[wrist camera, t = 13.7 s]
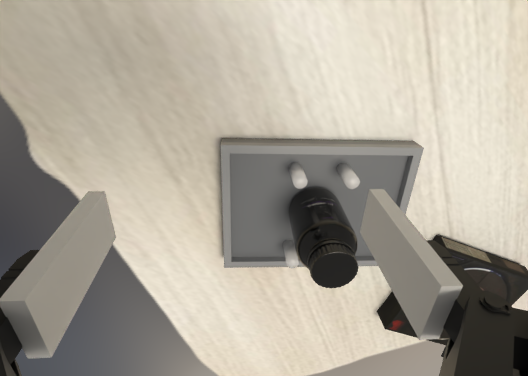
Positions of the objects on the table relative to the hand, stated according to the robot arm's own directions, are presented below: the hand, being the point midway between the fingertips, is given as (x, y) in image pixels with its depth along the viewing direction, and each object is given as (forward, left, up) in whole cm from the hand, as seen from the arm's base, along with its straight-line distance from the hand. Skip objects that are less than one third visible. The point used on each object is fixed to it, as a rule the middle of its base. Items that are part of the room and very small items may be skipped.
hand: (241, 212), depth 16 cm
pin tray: (+9, -13, -23) cm, 28 cm away
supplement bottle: (+9, -13, -22) cm, 27 cm away
